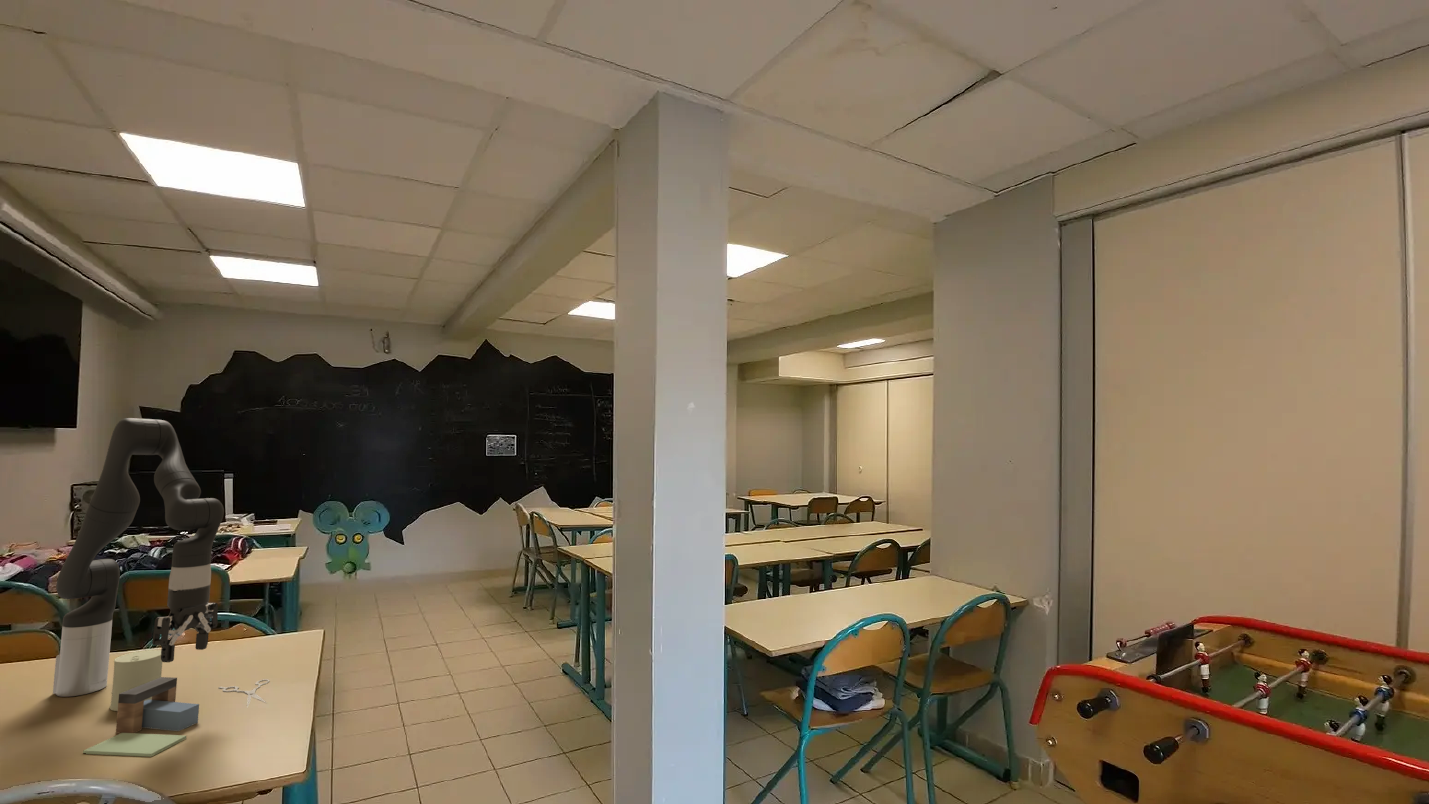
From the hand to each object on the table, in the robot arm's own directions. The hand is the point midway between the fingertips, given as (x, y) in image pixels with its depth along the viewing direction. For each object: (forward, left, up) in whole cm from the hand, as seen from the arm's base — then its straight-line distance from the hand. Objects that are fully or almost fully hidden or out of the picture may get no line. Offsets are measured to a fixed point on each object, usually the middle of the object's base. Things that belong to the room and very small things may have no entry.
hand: (184, 655), depth 143 cm
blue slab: (-4, 0, -16) cm, 16 cm away
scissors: (+2, +18, -16) cm, 24 cm away
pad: (0, -10, -16) cm, 19 cm away
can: (-21, +10, -16) cm, 28 cm away
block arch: (-8, 0, -16) cm, 18 cm away
